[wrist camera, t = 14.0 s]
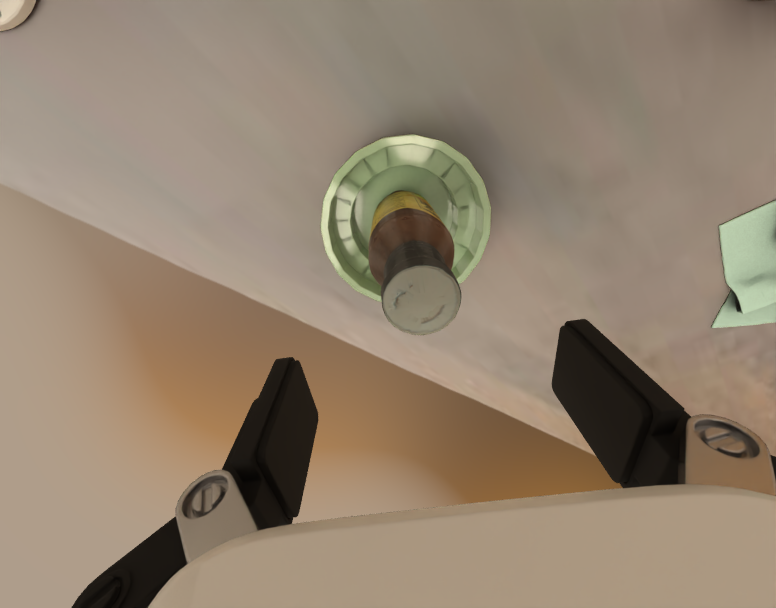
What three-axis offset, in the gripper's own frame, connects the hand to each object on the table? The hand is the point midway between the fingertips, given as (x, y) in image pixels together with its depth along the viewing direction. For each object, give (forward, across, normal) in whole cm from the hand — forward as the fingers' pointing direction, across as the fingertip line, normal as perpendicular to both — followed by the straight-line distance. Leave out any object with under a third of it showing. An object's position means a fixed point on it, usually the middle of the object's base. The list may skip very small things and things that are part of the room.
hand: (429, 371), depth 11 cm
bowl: (+26, -1, +1) cm, 26 cm away
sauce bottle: (+25, -1, +1) cm, 25 cm away
